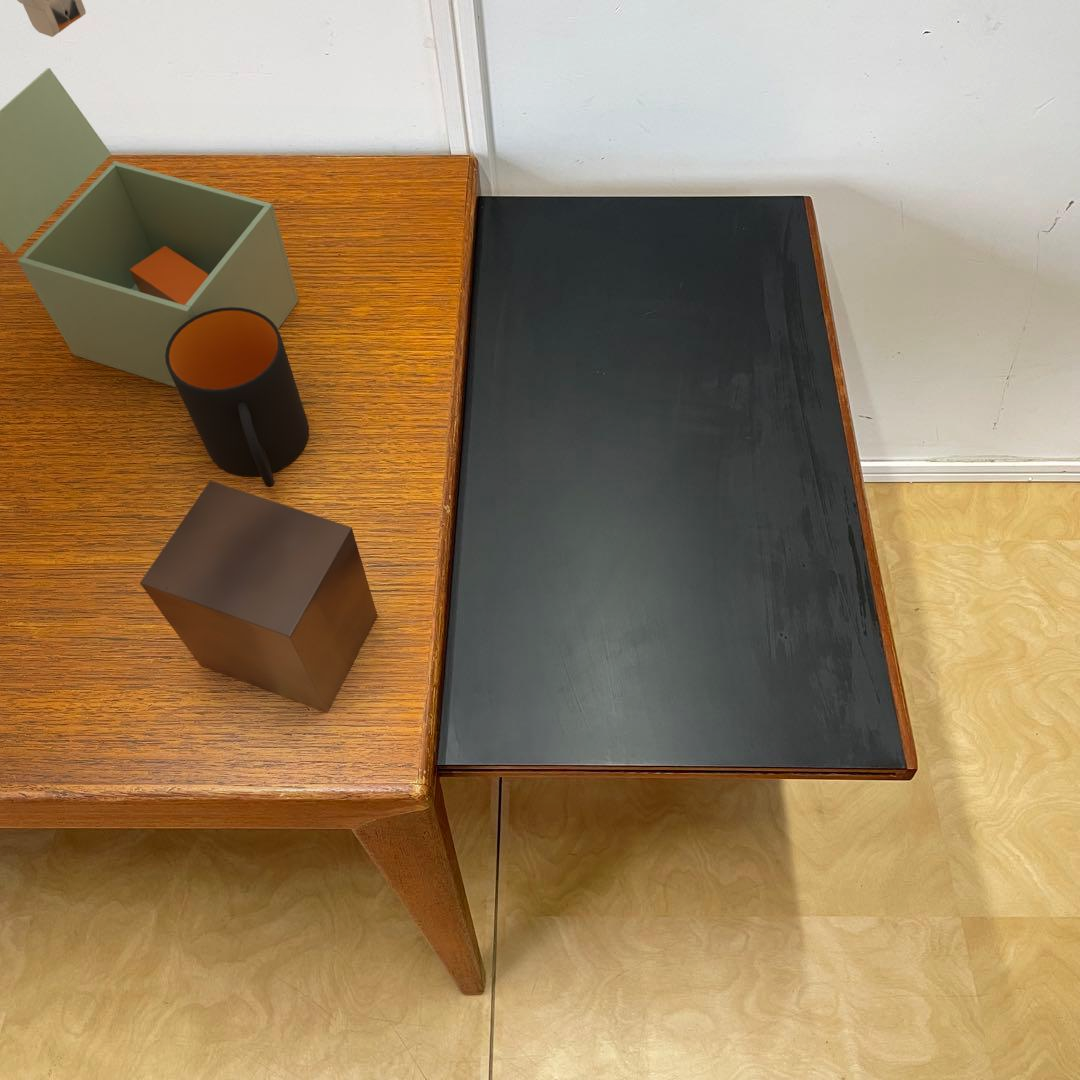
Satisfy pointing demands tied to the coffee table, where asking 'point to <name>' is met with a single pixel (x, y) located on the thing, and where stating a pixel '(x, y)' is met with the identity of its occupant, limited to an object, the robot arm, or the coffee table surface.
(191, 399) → the mug
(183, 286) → the block
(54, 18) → the robot arm
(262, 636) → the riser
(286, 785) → the coffee table surface
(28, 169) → the flap
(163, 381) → the green box
